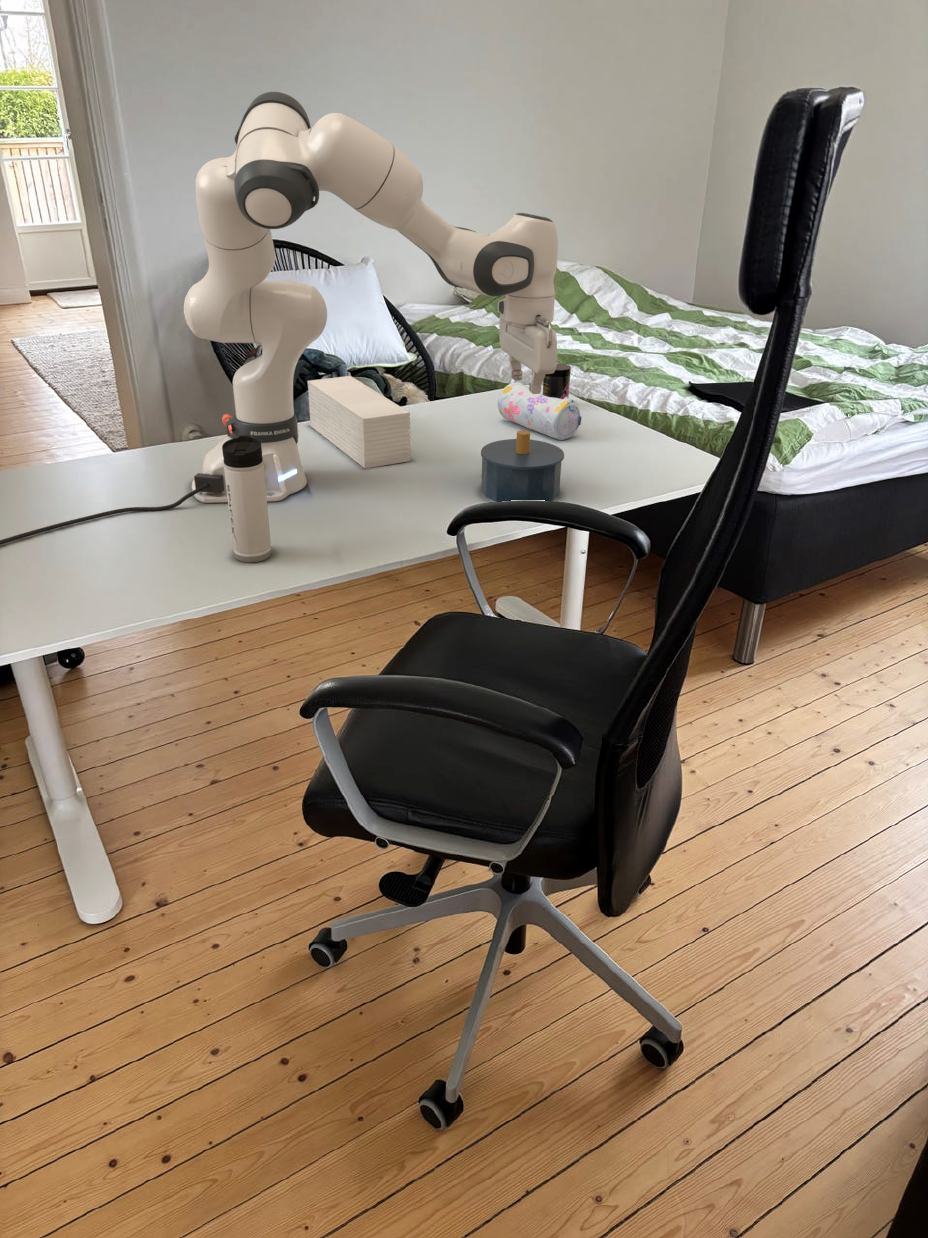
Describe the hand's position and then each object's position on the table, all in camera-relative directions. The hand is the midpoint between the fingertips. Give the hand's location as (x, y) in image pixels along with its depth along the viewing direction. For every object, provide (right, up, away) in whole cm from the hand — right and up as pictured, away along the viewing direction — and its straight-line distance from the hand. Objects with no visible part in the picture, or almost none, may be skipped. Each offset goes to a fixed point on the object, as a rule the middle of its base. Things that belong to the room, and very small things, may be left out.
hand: (525, 386), depth 175 cm
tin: (0, -19, +10) cm, 21 cm away
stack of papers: (-36, -4, +35) cm, 50 cm away
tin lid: (0, -12, +6) cm, 13 cm away
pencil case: (+6, +1, +45) cm, 46 cm away
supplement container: (+12, +10, +62) cm, 63 cm away
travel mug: (-47, -33, -17) cm, 60 cm away
